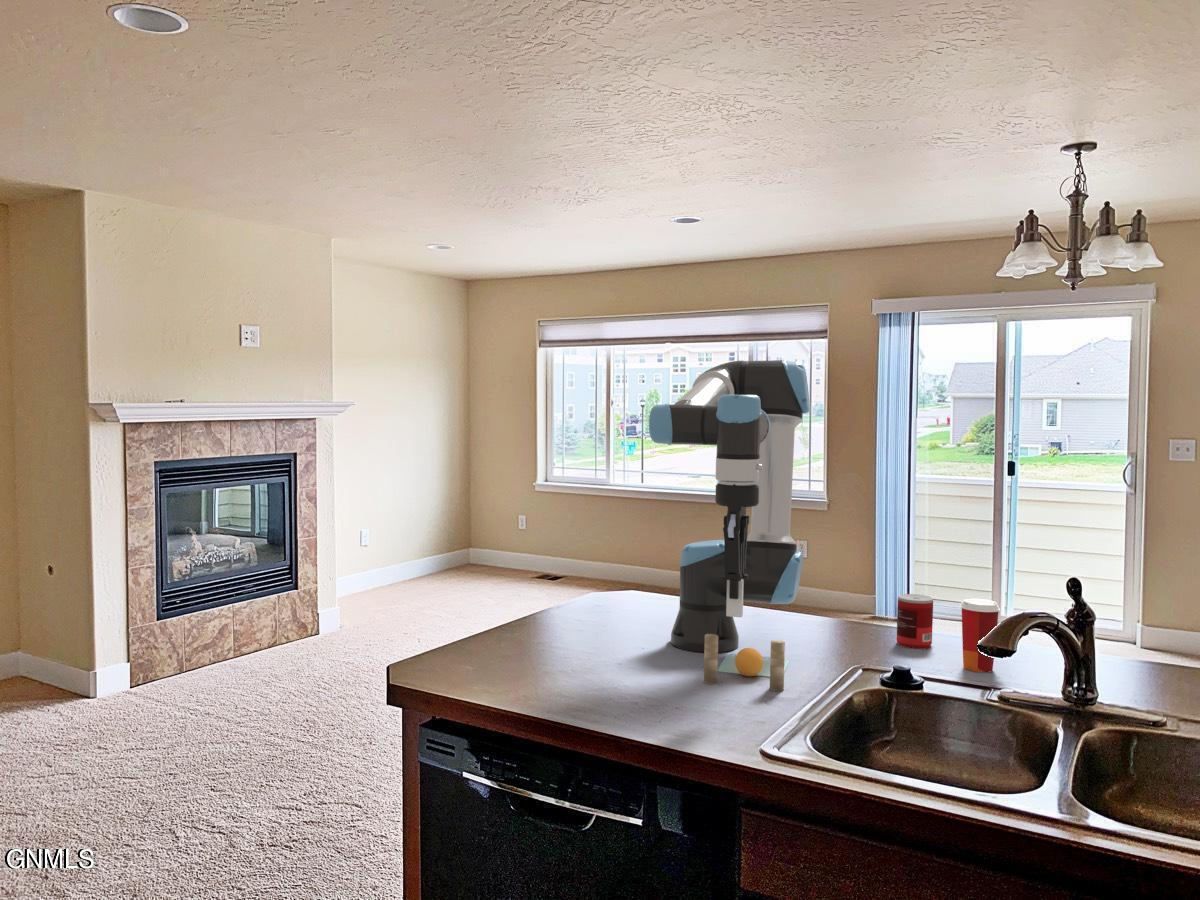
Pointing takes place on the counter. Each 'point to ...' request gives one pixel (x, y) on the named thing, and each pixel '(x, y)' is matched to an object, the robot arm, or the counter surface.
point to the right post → (777, 665)
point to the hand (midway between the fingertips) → (734, 615)
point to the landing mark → (730, 667)
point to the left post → (711, 658)
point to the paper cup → (977, 632)
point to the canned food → (914, 621)
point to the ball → (749, 662)
